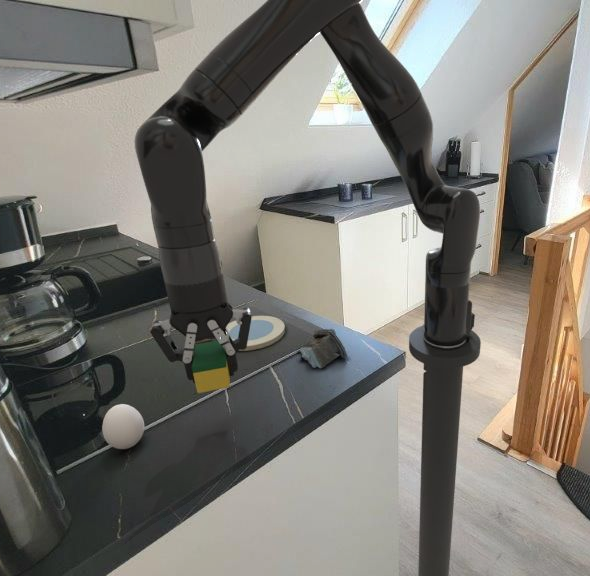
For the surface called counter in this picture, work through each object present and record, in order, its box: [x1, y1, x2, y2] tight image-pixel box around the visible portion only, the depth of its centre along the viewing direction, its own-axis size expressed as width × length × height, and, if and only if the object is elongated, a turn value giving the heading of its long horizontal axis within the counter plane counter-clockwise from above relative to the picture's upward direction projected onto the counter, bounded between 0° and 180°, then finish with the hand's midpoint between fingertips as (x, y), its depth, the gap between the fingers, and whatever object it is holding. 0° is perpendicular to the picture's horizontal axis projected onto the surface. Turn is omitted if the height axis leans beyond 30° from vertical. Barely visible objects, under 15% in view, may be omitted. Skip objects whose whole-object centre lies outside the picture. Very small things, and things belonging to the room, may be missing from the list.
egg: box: [101, 403, 145, 450], centre depth 61 cm, size 5×5×7 cm
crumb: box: [194, 339, 211, 345], centre depth 91 cm, size 3×3×2 cm
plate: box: [226, 315, 286, 352], centre depth 95 cm, size 15×15×1 cm
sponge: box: [192, 340, 231, 394], centre depth 62 cm, size 7×4×4 cm, turn 20°
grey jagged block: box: [299, 328, 348, 369], centre depth 84 cm, size 10×7×12 cm
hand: (214, 375), depth 63 cm, fingers closed on sponge, 4 cm apart
